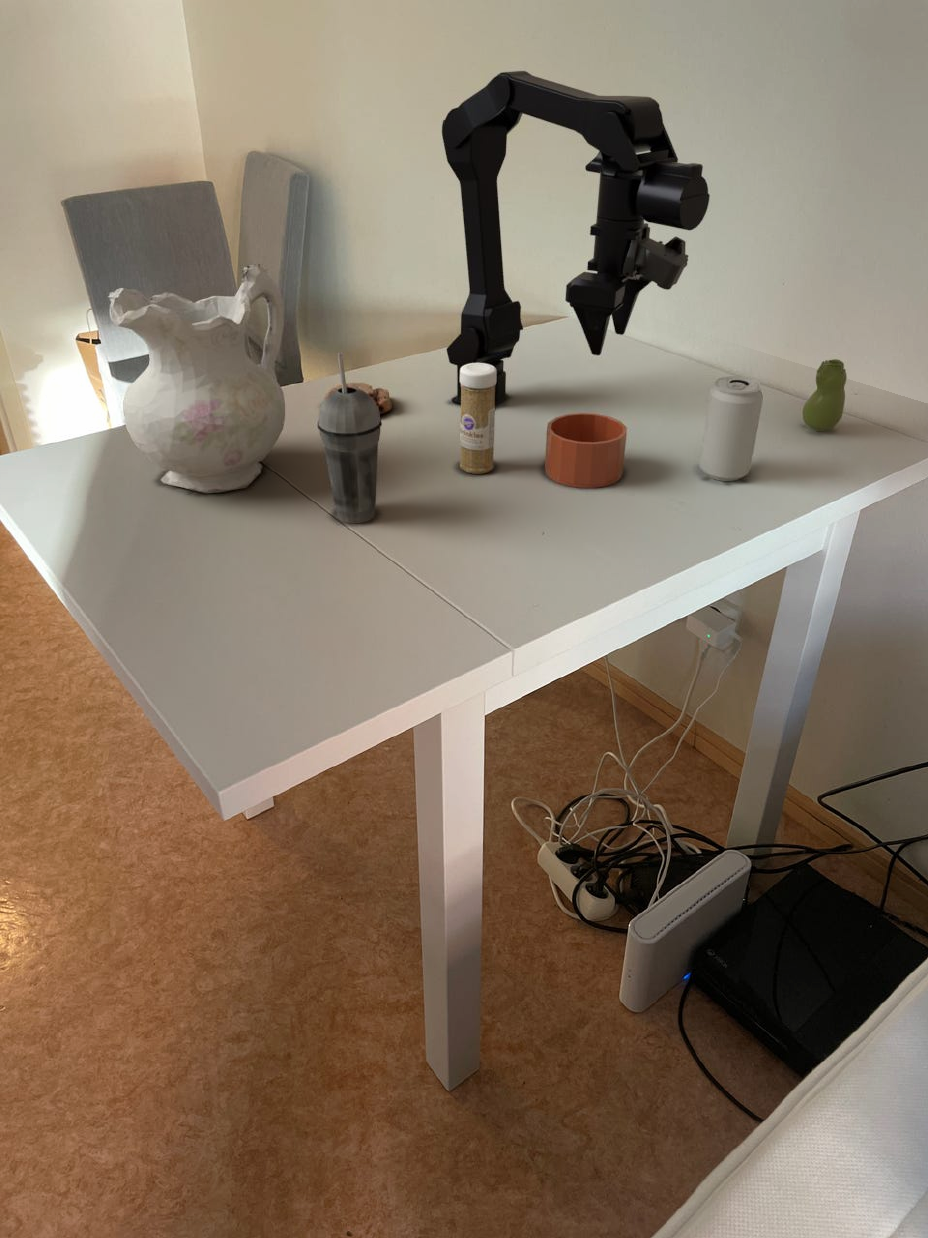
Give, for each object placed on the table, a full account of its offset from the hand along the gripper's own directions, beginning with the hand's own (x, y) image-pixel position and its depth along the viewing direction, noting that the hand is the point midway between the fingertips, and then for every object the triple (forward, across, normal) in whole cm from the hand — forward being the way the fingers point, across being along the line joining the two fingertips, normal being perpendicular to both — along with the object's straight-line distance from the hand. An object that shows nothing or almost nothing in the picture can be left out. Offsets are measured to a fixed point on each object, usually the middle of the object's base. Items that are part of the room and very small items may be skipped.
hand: (608, 343), depth 124 cm
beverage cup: (+14, -33, +19) cm, 40 cm away
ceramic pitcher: (+14, -30, +41) cm, 53 cm away
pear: (+14, +19, -26) cm, 35 cm away
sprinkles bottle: (+14, -14, +12) cm, 23 cm away
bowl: (+14, -9, -1) cm, 17 cm away
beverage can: (+14, -2, -18) cm, 22 cm away
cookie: (+15, -3, +37) cm, 40 cm away
